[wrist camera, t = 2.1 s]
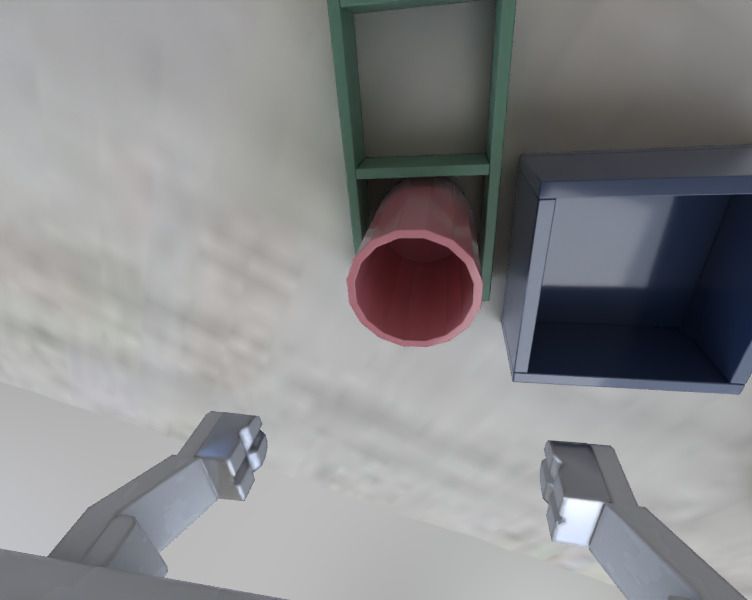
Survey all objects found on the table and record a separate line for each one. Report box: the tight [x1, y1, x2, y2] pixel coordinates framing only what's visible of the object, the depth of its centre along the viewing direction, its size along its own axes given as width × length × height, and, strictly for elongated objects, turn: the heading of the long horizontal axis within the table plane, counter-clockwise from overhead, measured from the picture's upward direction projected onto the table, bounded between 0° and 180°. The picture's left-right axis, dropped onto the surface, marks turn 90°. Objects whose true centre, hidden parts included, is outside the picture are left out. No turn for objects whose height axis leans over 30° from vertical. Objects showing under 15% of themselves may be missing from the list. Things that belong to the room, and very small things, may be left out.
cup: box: [346, 177, 483, 347], centre depth 22 cm, size 6×6×10 cm
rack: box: [327, 0, 516, 301], centre depth 23 cm, size 16×8×3 cm, turn 4°
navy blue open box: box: [501, 144, 752, 395], centre depth 22 cm, size 12×12×6 cm
